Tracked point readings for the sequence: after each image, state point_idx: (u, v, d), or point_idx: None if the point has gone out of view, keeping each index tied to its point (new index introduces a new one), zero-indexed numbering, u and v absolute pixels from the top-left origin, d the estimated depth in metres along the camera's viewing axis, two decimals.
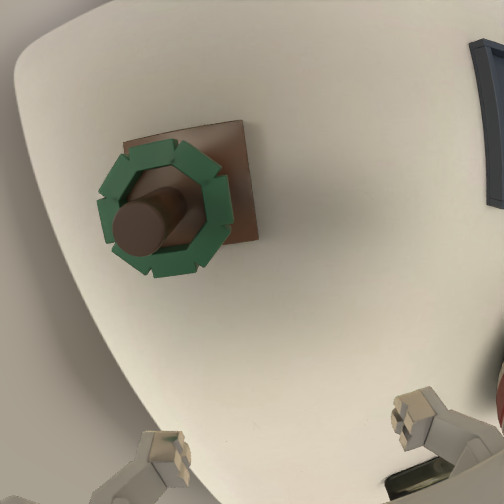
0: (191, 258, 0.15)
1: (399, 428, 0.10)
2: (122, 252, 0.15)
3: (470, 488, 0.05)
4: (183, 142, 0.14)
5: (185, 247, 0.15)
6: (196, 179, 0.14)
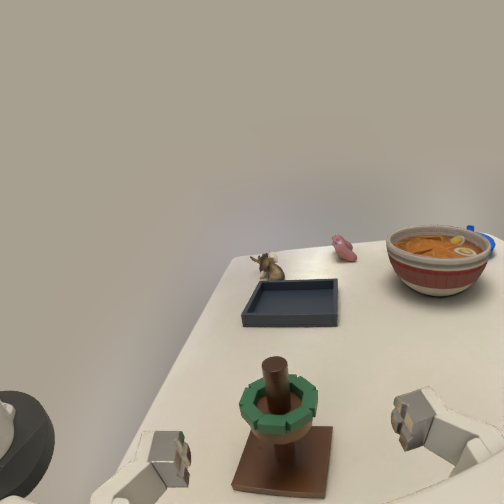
0: (309, 391, 0.25)
1: (399, 428, 0.10)
2: (293, 418, 0.22)
3: (470, 488, 0.05)
4: (249, 384, 0.27)
5: (303, 396, 0.25)
6: None
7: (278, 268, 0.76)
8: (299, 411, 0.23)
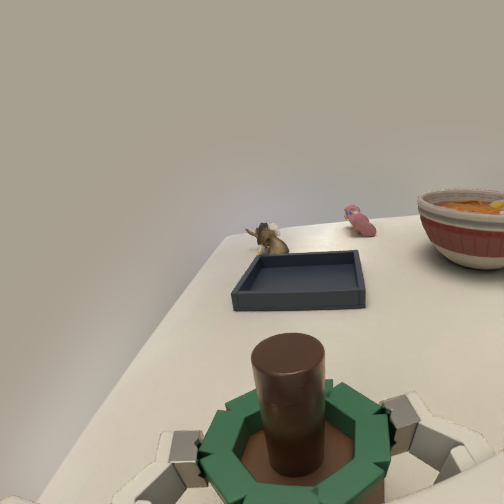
0: (367, 417, 0.10)
1: None
2: (339, 496, 0.07)
3: (470, 488, 0.05)
4: (227, 403, 0.12)
5: (354, 430, 0.10)
6: None
7: (280, 242, 0.60)
8: (352, 474, 0.08)
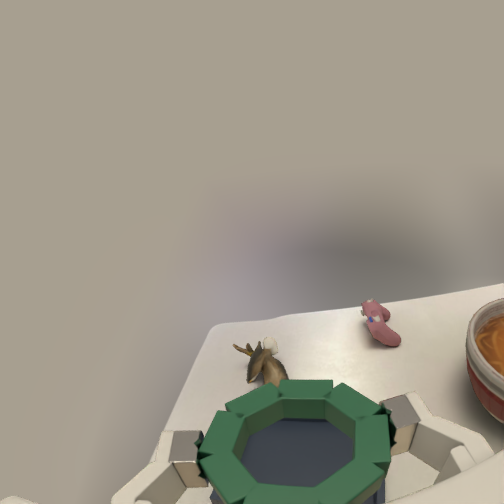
0: (367, 417, 0.10)
1: None
2: (339, 496, 0.07)
3: (470, 488, 0.05)
4: (227, 403, 0.12)
5: (354, 431, 0.10)
6: (273, 400, 0.11)
7: (278, 369, 0.44)
8: (352, 474, 0.08)
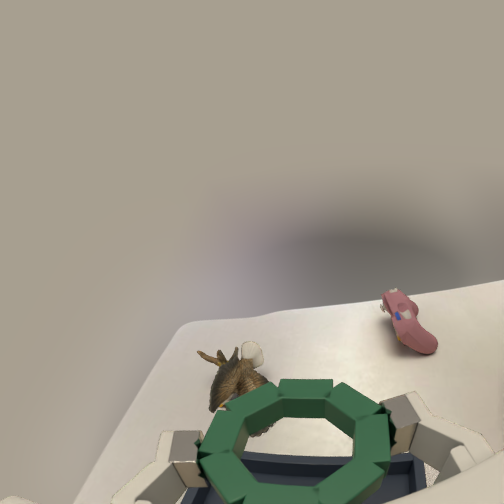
0: (367, 417, 0.10)
1: None
2: (339, 496, 0.07)
3: (470, 488, 0.05)
4: (227, 402, 0.12)
5: (354, 430, 0.10)
6: (273, 400, 0.11)
7: None
8: (352, 473, 0.08)
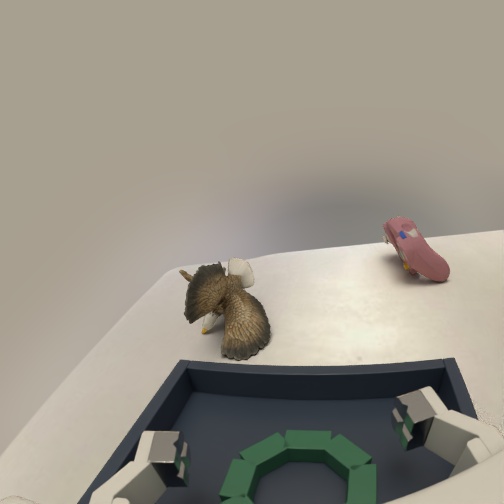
0: (360, 466, 0.11)
1: (399, 428, 0.10)
2: None
3: (470, 488, 0.05)
4: (241, 452, 0.13)
5: (348, 476, 0.11)
6: (280, 450, 0.12)
7: (251, 307, 0.26)
8: None
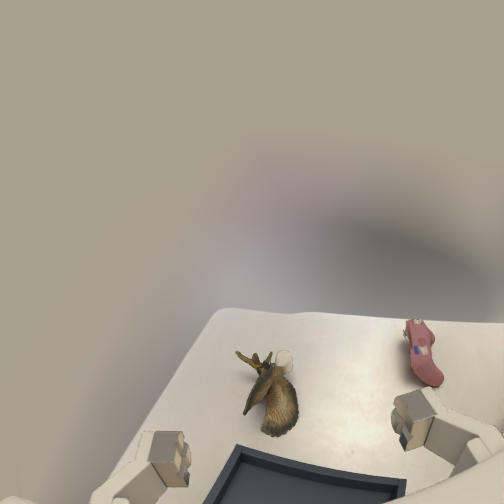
0: None
1: (399, 428, 0.10)
2: None
3: (470, 488, 0.05)
4: None
5: None
6: None
7: (288, 397, 0.32)
8: None
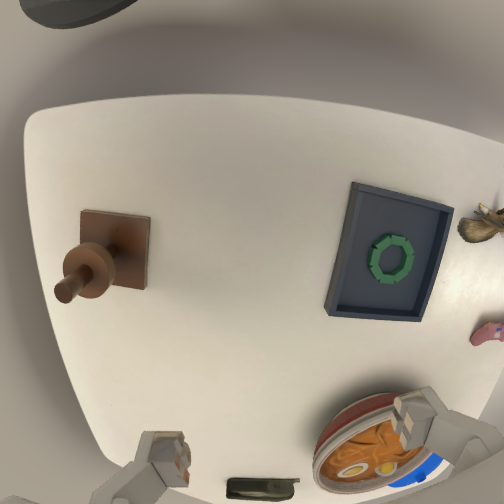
0: (394, 278, 0.39)
1: (399, 428, 0.10)
2: (374, 270, 0.39)
3: (470, 488, 0.05)
4: (408, 240, 0.38)
5: (392, 274, 0.39)
6: (407, 253, 0.38)
7: (484, 236, 0.37)
8: (379, 273, 0.39)
